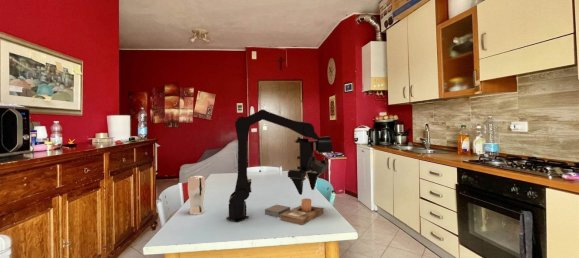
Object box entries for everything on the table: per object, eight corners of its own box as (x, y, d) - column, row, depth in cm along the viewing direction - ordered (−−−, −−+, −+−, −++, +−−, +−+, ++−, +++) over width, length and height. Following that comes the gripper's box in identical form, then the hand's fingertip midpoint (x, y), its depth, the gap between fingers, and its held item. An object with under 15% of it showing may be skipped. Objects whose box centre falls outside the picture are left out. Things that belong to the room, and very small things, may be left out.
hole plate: (302, 225, 101) (302, 218, 101) (280, 219, 107) (280, 213, 107) (323, 213, 114) (323, 207, 114) (302, 209, 120) (302, 203, 120)
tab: (278, 217, 110) (278, 212, 110) (264, 214, 114) (264, 209, 114) (290, 211, 116) (290, 207, 116) (276, 209, 120) (276, 204, 120)
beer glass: (196, 216, 112) (195, 179, 112) (184, 213, 116) (183, 177, 116) (209, 211, 118) (208, 176, 118) (197, 209, 122) (196, 174, 122)
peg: (308, 216, 110) (307, 201, 110) (299, 215, 112) (299, 200, 112) (313, 214, 113) (313, 199, 113) (304, 212, 115) (304, 198, 115)
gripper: (311, 157, 100) (312, 200, 100) (334, 152, 115) (335, 189, 115) (286, 155, 106) (287, 196, 107) (311, 151, 122) (312, 186, 122)
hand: (306, 192), depth 113 cm, fingers open, 9 cm apart
